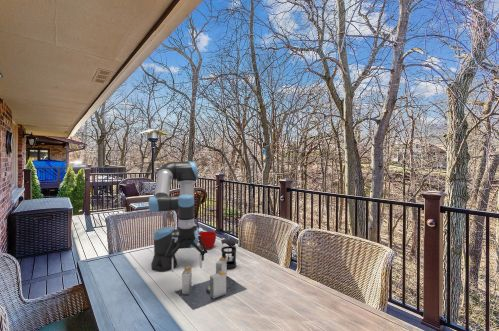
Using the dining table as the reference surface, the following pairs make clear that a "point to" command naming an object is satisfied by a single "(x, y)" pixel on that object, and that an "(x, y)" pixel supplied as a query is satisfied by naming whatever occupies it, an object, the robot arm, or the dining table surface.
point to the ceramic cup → (208, 238)
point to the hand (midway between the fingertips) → (186, 268)
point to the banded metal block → (218, 284)
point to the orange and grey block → (186, 280)
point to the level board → (208, 293)
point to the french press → (231, 244)
